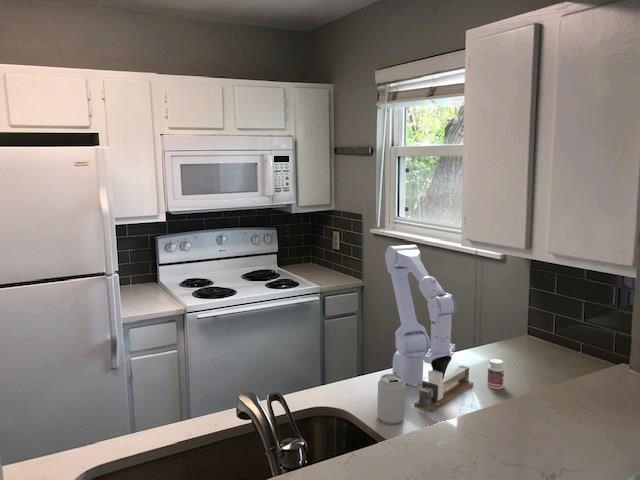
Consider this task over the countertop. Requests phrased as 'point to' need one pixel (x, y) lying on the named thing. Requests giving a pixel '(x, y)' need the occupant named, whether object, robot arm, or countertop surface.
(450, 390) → the pipe board
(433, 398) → the grey square plate
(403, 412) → the can
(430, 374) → the sleeve
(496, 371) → the pill bottle
